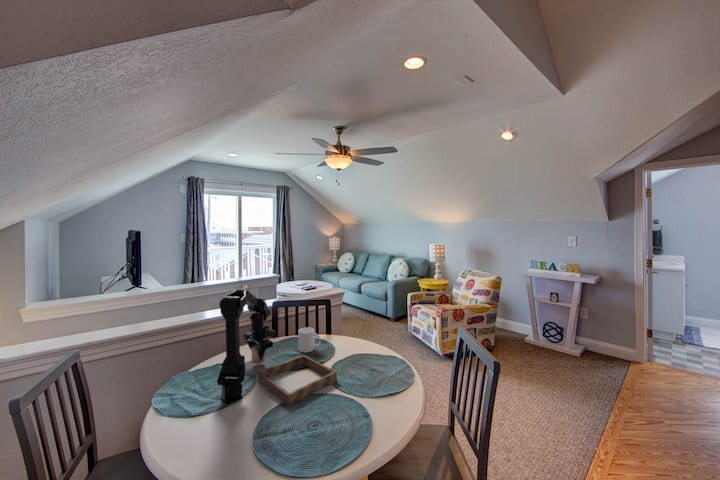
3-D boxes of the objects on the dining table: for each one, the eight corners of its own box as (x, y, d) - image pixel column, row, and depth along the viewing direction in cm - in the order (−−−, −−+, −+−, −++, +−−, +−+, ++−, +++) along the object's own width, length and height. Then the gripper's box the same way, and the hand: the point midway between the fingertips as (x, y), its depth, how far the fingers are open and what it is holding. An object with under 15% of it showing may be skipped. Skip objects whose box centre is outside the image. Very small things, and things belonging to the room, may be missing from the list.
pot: (255, 364, 139) (255, 349, 139) (249, 360, 143) (249, 346, 143) (267, 360, 144) (267, 345, 143) (261, 356, 148) (260, 342, 147)
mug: (318, 353, 157) (318, 333, 156) (296, 352, 158) (296, 332, 157) (322, 347, 165) (322, 327, 165) (301, 345, 167) (301, 326, 166)
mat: (251, 376, 134) (251, 375, 134) (237, 365, 143) (237, 365, 143) (279, 365, 144) (279, 364, 144) (264, 356, 153) (264, 355, 153)
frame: (288, 405, 113) (288, 395, 112) (257, 381, 130) (256, 372, 129) (336, 381, 130) (336, 372, 130) (303, 362, 147) (303, 354, 147)
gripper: (283, 326, 142) (283, 358, 143) (263, 317, 155) (263, 346, 156) (261, 332, 134) (261, 366, 135) (242, 322, 147) (243, 353, 148)
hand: (258, 357), depth 143 cm, fingers closed on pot, 6 cm apart
